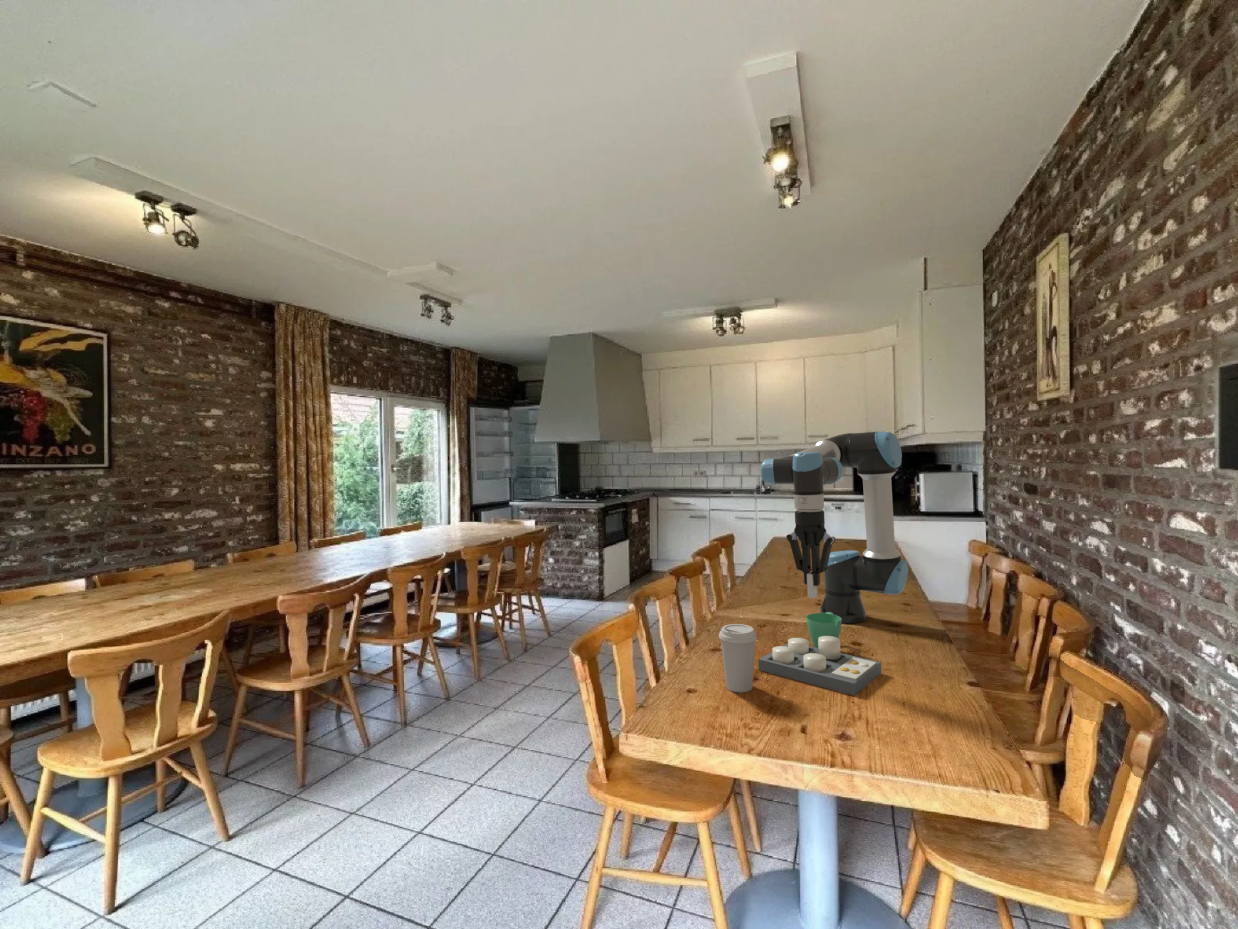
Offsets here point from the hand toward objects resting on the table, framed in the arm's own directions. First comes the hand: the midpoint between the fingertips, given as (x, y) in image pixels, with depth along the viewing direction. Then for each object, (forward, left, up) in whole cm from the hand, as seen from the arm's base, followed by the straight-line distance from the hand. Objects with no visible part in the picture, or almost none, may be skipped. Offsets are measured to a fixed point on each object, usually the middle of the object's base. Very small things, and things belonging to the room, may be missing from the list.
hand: (812, 597), depth 154 cm
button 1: (+4, -7, -19) cm, 21 cm away
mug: (-18, -5, -20) cm, 28 cm away
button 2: (-5, -7, -19) cm, 21 cm away
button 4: (-5, +2, -17) cm, 17 cm away
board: (0, +1, -20) cm, 20 cm away
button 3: (+4, +2, -19) cm, 20 cm away
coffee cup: (+22, -10, -20) cm, 31 cm away
